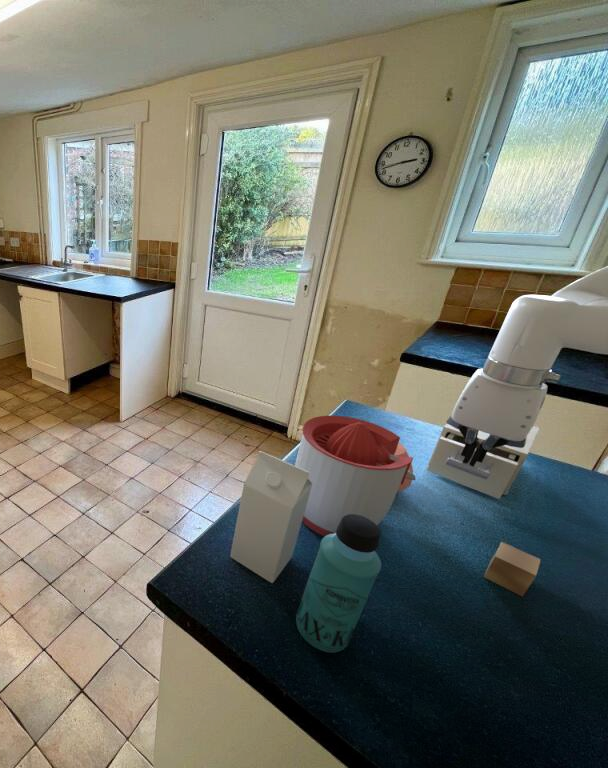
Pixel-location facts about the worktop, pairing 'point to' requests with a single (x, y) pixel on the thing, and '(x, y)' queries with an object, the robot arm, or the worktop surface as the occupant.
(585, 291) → the robot arm
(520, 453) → the cabinet
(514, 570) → the block
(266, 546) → the milk carton
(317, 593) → the beverage bottle
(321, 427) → the citrus juicer
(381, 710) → the worktop surface
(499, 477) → the drawer
